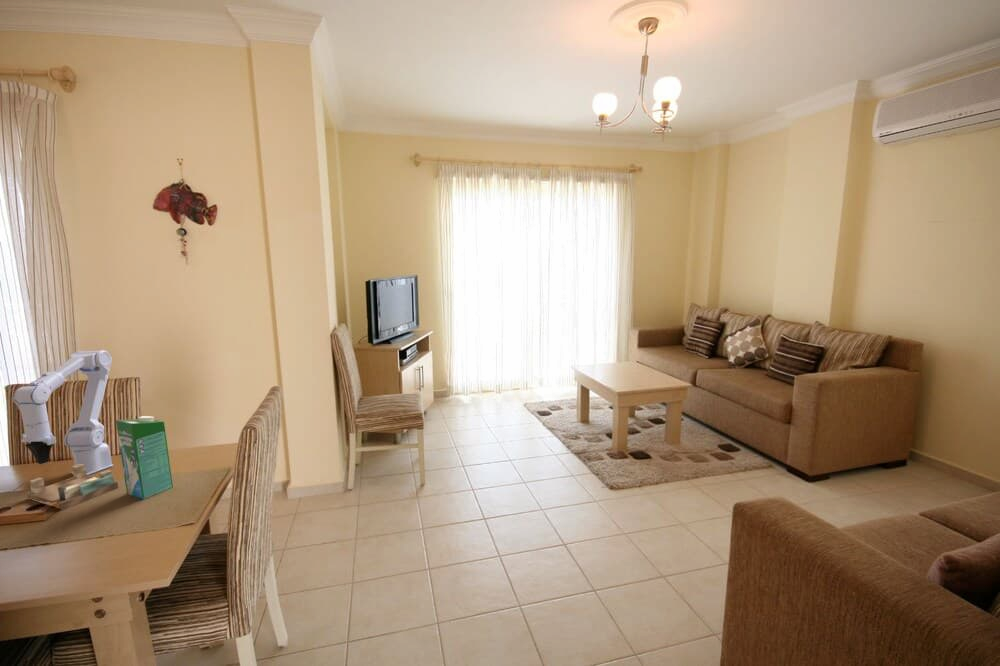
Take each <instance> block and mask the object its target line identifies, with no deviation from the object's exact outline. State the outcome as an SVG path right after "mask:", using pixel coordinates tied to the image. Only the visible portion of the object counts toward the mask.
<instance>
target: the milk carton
mask: <svg viewBox="0 0 1000 666" xmlns="http://www.w3.org/2000/svg"><path fill="white" fill-rule="evenodd" d="M115 423H116V429H117V431H116V432H117V435H118V436H117V437H118V444H119V450H120V456H121V463H122V469H123V475H124V482H125V483H124V484H125V488H126V489H125V491H126V494H127V495H129V496H132V497H135V498H138V499H141V500H144V499H147V498H149V497H152V496H154V495H156V494H158V493H161V492H163V491H167V490H168V489H170V488H173V487H174V484H173V477H172V469H171V464H170V463H171V462H170V456H169V447H168V440H167V432H166V426H165V425H166V424H165V421H162V420H157V419H155V417H154V416H151V415H149V416H148V415H144V416H143V415H142V416H139V417H138V418H133V419H131V418H130V419H119V420H117V419H116V420H115Z"/></svg>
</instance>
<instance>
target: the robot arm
mask: <svg viewBox="0 0 1000 666" xmlns="http://www.w3.org/2000/svg"><path fill="white" fill-rule="evenodd" d="M112 361H113V358H112V356H111V354H110V353H109V352H108V351H107V350H104V349H102V350H101V349H100V350H85V351H84V350H77V351H75V352H74V353H72V354H70V355H69V359H68V360H66V361H65V362H64V363H63V364H62V365H60V366H59V367H58V368H57V369H56V370H55V371H45V372H42V373H41V375H40V377H38V378H37V379H35V380H33V381H30V382H29V384H28V385H27V386H20V387H19V388H17V389H16V390H15V391H14V393H13V397H12V402H13V403H14V404H16V406H17V408H18V410H19V411H20V414H21V418H22V425H23V430H24V433H22V434H21V436H22V439H21V440H20V441H21V442H22V443H26V444H25V448H27V449H28V450H29V451H30V452H31V454H32V455H33V457H34V458H35V461H36V462H37V464H39V465H43V464H47V463H49V460H50V454H51V450H52V448H53V445H54V444H57V437H56V436H54V435H53V433H52V432H51V426H50V422H49V415H48V411H47V410H48V409H47V403H46V402H48V401H49V399H50V396H51V395H52V393H53V392H54V391H56V390H57V389H58V388H60V387H61V386H62V385H64V383H65V379H66V378H68V377H69V376H70V375H72V374H74V373H75V372H77V371H79V372H81V373H82V375H85V376H87V378H88V379H87V383H86V386H85V392H84V395H83V398H82V399H83V400H82V404H81V407H80V412H79V416H78V420H77V421H75V422H73V423H72V424H71V425H69V428H68V431H67V432H66V433H65V436H64V439H63V441H64V445H65V446H66V447H67V448H69V449H70V451H72V455H73V461H74V466H75V465H78V464H84V465H85V470H86V474H88V475H93V474H94V473H97V472H100V471H103V470H107V469H109V468H111V467H113V466H114V464H113V463H112V457H111V450H110V447H109V445H108V444H107V443H106V442H103V441H104V440H105V425H103V423H101V422H100V421H99V417H100V413H101V409H102V405H103V400H104V395H105V392H106V387H107V383H108V379H109V373H110V370H111V366H112ZM27 442H29V443H27ZM70 474H71V475H73V470H72V471H71V472H70Z"/></svg>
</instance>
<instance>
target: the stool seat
mask: <svg viewBox="0 0 1000 666" xmlns="http://www.w3.org/2000/svg"><path fill="white" fill-rule="evenodd" d="M71 469H72V471H73V474H72V477H69V478H67V479H63V480H61V481H58V482H55V483H53V484H50V485H46V486H45V480H44V478H42V477H37V478H34V479H33V478H32V479H30V480H29V486H30V489H31V490H30V492H27V493H26V495H27V499H28V498H31V499H35V500H38V501H43V502H50V503H53V502H58V503H59V507H60V509H59V510H60V511H63V510H65V509H68V508H71V507H73V506H76V505H77V504H80V503H83V502H85V500H86V501H87V500H91V499H93V498H95V496H96V497H98V496H100V495H103V494H106V493H108V492H111V491H113V490H116V489H118V488H119V483H118V481H115V480H114V473H113V470H110V469H105V470H104V471H103V470H102V471H101V472H100V471H99V476H95V475H93V474H89V475H88V474H86V470H85V465H84V464H78V465H75V464H74V465H72V466H71ZM93 477H96V478H99V479H98V480H95V481H92V482H90V483H87V484H84V485H81V486H79V488H80V494H79V495H76V496H74V497H71V498H69V499H65V500H60V498H59V492H58V488H59V487H61V486H66V487H69V486H71V485H74V484H77V483H80V482H82V481H85V480H88V479H91V478H93ZM105 492H106V493H105ZM90 498H91V499H90Z"/></svg>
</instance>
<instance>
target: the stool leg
mask: <svg viewBox="0 0 1000 666" xmlns="http://www.w3.org/2000/svg"><path fill="white" fill-rule="evenodd" d="M96 477H97V476H96ZM96 477H93V478H91V479H88V480H85V481H82V482H80V483H77V484H74V485H71V486H69V487H66V486H61V487H59V488H58V492H59V498H60V500H65V499H69V498H71V497H74V496H76V495H79V494H80V488H79V486H81V485H84V484H87V483H90V482H92V481H95V480H98V479H99V478H96Z"/></svg>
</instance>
